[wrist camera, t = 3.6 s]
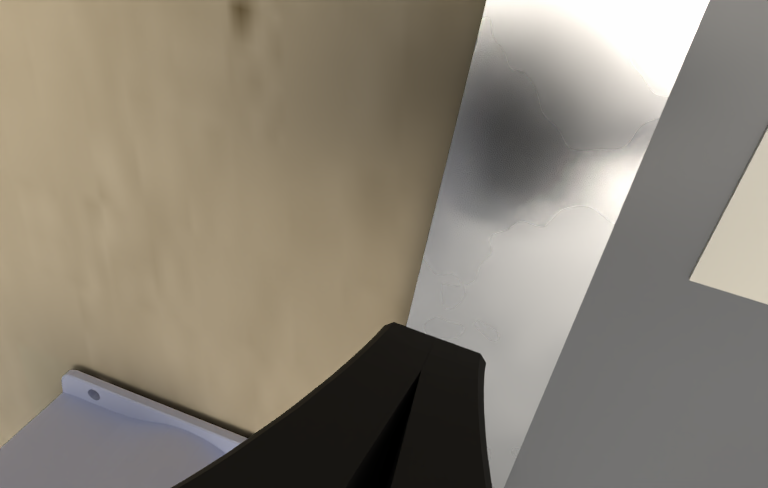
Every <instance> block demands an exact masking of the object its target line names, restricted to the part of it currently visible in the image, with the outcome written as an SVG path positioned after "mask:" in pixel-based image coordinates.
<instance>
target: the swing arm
mask: <svg viewBox="0 0 768 488" xmlns="http://www.w3.org/2000/svg"><path fill="white" fill-rule="evenodd" d="M708 2H709V0H486V4H485V8H484V12H483V17H482V21H481V25H480V29H479V33H478V37H477V41H476V45H475V49H474V53H473V57H472V61H471V65H470V69H469V73H468V77H467V81H466V86H465V90H464V94H463V98H462V102H461V106H460V110H459V114H458V118H457V122H456V126H455V130H454V134H453V138H452V142H451V146H450V151H449V155H448V159H447V163H446V167H445V171H444V175H443V179H442V183H441V187H440V191H439V195H438V199H437V203H436V207H435V211H434V215H433V220H432V224H431V228H430V232H429V236H428V240H427V244H426V248H425V252H424V256H423V260H422V264H421V268H420V272H419V276H418V280H417V284H416V289H415V293H414V297H413V301H412V305H411V309H410V313H409V317H408V321H407V325H406V327H409V328H411V329H414V330H417V331H420V332H422V333H425V334H428V335H431V336H434V337H436V338H439V339H442V340H445V341H447V342H450V343H453V344H456V345H459V346H461V347H464V348H467V349H470V350H473V351H475V352H478V353H481V355H482V357H483V358H484V360H485V362H486V367H485V376H484V415H485V430H486V442H487V452H488V461H489V468H490V475H491V483H492V488H504V486H505V484H506V481H507V479H508V477H509V474H510V472H511V470H512V467H513V465H514V462H515V460H516V458H517V455H518V453H519V451H520V448H521V446H522V443H523V441H524V439H525V436H526V434H527V432H528V429H529V427H530V424H531V422H532V420H533V417H534V415H535V413H536V410H537V408H538V406H539V403H540V401H541V398H542V396H543V394H544V391H545V389H546V387H547V384H548V382H549V379H550V377H551V375H552V372H553V370H554V368H555V365H556V363H557V360H558V358H559V356H560V353H561V351H562V349H563V346H564V344H565V341H566V339H567V337H568V334H569V332H570V330H571V327H572V325H573V322H574V320H575V318H576V315H577V313H578V311H579V308H580V306H581V303H582V301H583V299H584V296H585V294H586V292H587V289H588V287H589V284H590V282H591V280H592V277H593V275H594V273H595V270H596V268H597V265H598V263H599V261H600V258H601V256H602V254H603V251H604V249H605V246H606V244H607V242H608V239H609V237H610V235H611V232H612V230H613V227H614V225H615V223H616V220H617V218H618V216H619V213H620V211H621V208H622V206H623V204H624V201H625V199H626V197H627V194H628V192H629V189H630V187H631V185H632V182H633V180H634V178H635V175H636V173H637V170H638V168H639V166H640V163H641V161H642V159H643V156H644V154H645V151H646V149H647V147H648V144H649V142H650V140H651V137H652V135H653V132H654V130H655V128H656V125H657V123H658V121H659V118H660V116H661V113H662V111H663V109H664V106H665V104H666V102H667V99H668V97H669V95H670V92H671V90H672V87H673V85H674V83H675V80H676V78H677V76H678V73H679V71H680V68H681V66H682V64H683V61H684V59H685V57H686V54H687V52H688V49H689V47H690V45H691V42H692V40H693V38H694V35H695V33H696V30H697V28H698V26H699V23H700V21H701V19H702V16H703V14H704V11H705V9H706V7H707V4H708Z"/></svg>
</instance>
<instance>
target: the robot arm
mask: <svg viewBox="0 0 768 488" xmlns="http://www.w3.org/2000/svg"><path fill="white" fill-rule="evenodd" d="M485 367H486V362H485V360H484V358H483V357H482V355H481V353H478V352H475V351H473V350H470V349H467V348H464V347H461V346H459V345H456V344H453V343H450V342H447V341H445V340H442V339H439V338H436V337H434V336H431V335H428V334H425V333H422V332H420V331H417V330H414V329H411V328H409V327H406V326H403V325H400V324H397V323H395V322H393V323H391V324H388V325H385V326H384V327H383V328H382V329H381V330H380V331H379V332H378V333H377V334H376V335H375V336H374V337H373V338H372V339H371V340H370V341H369V342H368V343H367V344H366V345H365V346H364V347H363V348H362V349H361V350H360V351H359V352H358V353H357V354H356V355H355V356H353V357H352V358H351V359H350V360H349V361H348V362H347V363H346V364H344V365H343V366H342V367H341V368H340V369H339V370H337V371H336V372H335V373H334V374H333V375H332V376H330V377H329V378H328V379H327V380H325V381H324V382H323V383H322V384H320V385H319V386H318V387H317V388H315V389H314V390H313V391H312V392H310V393H309V394H308V395H307V396H305V397H304V398H303V399H302V400H300V401H299V402H298V403H296V404H295V405H294V406H293V407H291V408H290V409H289V410H287V411H286V412H285V413H283V414H282V415H281V416H279V417H278V418H276V419H275V420H274V421H272V422H271V423H269V424H268V425H266V426H265V427H264V428H262V429H261V430H259V431H258V432H256V433H255V434H254V435H252V436H251V437H249V438H246V437H243V436H241V435H238V434H236V433H233V432H231V431H228V430H226V429H223V428H221V427H218V426H216V425H213V424H210V423H208V422H205V421H203V420H200V419H198V418H195V417H193V416H190V415H188V414H185V413H183V412H180V411H178V410H175V409H173V408H170V407H168V406H165V405H163V404H160V403H158V402H155V401H153V400H150V399H148V398H145V397H143V396H140V395H138V394H135V393H133V392H130V391H128V390H125V389H123V388H120V387H118V386H115V385H113V384H110V383H108V382H105V381H103V380H100V379H98V378H95V377H93V376H90V375H88V374H85V373H83V372H80V371H78V370H69V371H68V372H67V373H66V374H65V375H63V377H62V380H61V381H62V389H63V393H61V394H60V395H59V396H58V397H57V398H56V399H55V400H53V401H52V402H51V403H50V404H49V405H48V406H47V407H46V408H45V409H43V410H42V411H41V412H40V413H39V414H38V415H37V416H36V417H34V418H33V419H32V420H31V421H30V422H29V423H28V424H27V425H26V426H24V427H23V428H22V429H21V430H20V431H19V432H18V433H17V434H15V435H14V436H13V437H12V438H11V439H10V440H9V441H8V442H6V443H5V444H4V445H3V446H2V447H1V448H0V488H492V483H491V475H490V468H489V461H488V452H487V442H486V430H485V415H484V376H485Z"/></svg>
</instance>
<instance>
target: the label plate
mask: <svg viewBox="0 0 768 488" xmlns="http://www.w3.org/2000/svg"><path fill="white" fill-rule="evenodd" d="M504 488H768V0H709V2H708V4H707V7H706V9H705V11H704V14H703V16H702V19H701V21H700V23H699V26H698V28H697V30H696V33H695V35H694V38H693V40H692V42H691V45H690V47H689V49H688V52H687V54H686V57H685V59H684V61H683V64H682V66H681V68H680V71H679V73H678V76H677V78H676V80H675V83H674V85H673V87H672V90H671V92H670V95H669V97H668V99H667V102H666V104H665V106H664V109H663V111H662V113H661V116H660V118H659V121H658V123H657V125H656V128H655V130H654V132H653V135H652V137H651V140H650V142H649V144H648V147H647V149H646V151H645V154H644V156H643V159H642V161H641V163H640V166H639V168H638V170H637V173H636V175H635V178H634V180H633V182H632V185H631V187H630V189H629V192H628V194H627V197H626V199H625V201H624V204H623V206H622V208H621V211H620V213H619V216H618V218H617V220H616V223H615V225H614V227H613V230H612V232H611V235H610V237H609V239H608V242H607V244H606V246H605V249H604V251H603V254H602V256H601V258H600V261H599V263H598V265H597V268H596V270H595V273H594V275H593V277H592V280H591V282H590V284H589V287H588V289H587V292H586V294H585V296H584V299H583V301H582V303H581V306H580V308H579V311H578V313H577V315H576V318H575V320H574V322H573V325H572V327H571V330H570V332H569V334H568V337H567V339H566V341H565V344H564V346H563V349H562V351H561V353H560V356H559V358H558V360H557V363H556V365H555V368H554V370H553V372H552V375H551V377H550V379H549V382H548V384H547V387H546V389H545V391H544V394H543V396H542V398H541V401H540V403H539V406H538V408H537V410H536V413H535V415H534V417H533V420H532V422H531V424H530V427H529V429H528V432H527V434H526V436H525V439H524V441H523V443H522V446H521V448H520V451H519V453H518V455H517V458H516V460H515V462H514V465H513V467H512V470H511V472H510V474H509V477H508V479H507V481H506V484H505V486H504Z"/></svg>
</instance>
